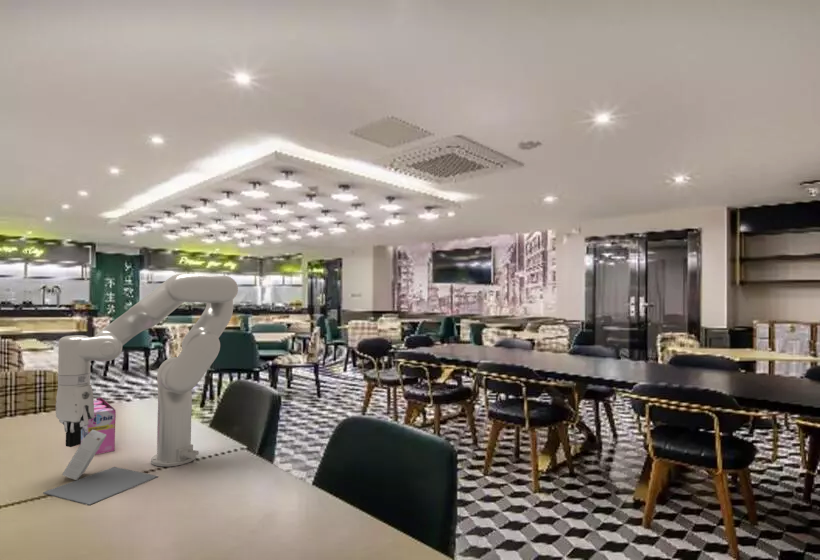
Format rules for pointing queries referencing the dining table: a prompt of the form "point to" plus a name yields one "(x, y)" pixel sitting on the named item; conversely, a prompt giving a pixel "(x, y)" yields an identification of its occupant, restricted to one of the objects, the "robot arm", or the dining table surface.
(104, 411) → the gum box
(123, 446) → the dining table surface
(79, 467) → the skincare box
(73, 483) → the mat
